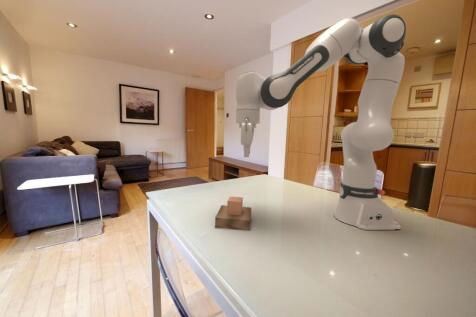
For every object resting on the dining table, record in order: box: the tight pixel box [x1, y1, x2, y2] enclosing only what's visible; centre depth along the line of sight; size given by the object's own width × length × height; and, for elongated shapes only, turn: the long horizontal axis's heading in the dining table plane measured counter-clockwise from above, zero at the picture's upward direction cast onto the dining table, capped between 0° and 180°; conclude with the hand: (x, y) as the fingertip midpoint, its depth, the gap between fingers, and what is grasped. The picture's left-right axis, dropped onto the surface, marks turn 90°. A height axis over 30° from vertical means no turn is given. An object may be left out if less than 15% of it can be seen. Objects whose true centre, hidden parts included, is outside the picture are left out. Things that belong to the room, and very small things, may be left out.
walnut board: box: [214, 204, 252, 231], centre depth 76 cm, size 12×12×4 cm
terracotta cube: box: [226, 196, 244, 216], centre depth 76 cm, size 5×5×5 cm
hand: (247, 155), depth 78 cm, fingers open, 8 cm apart
